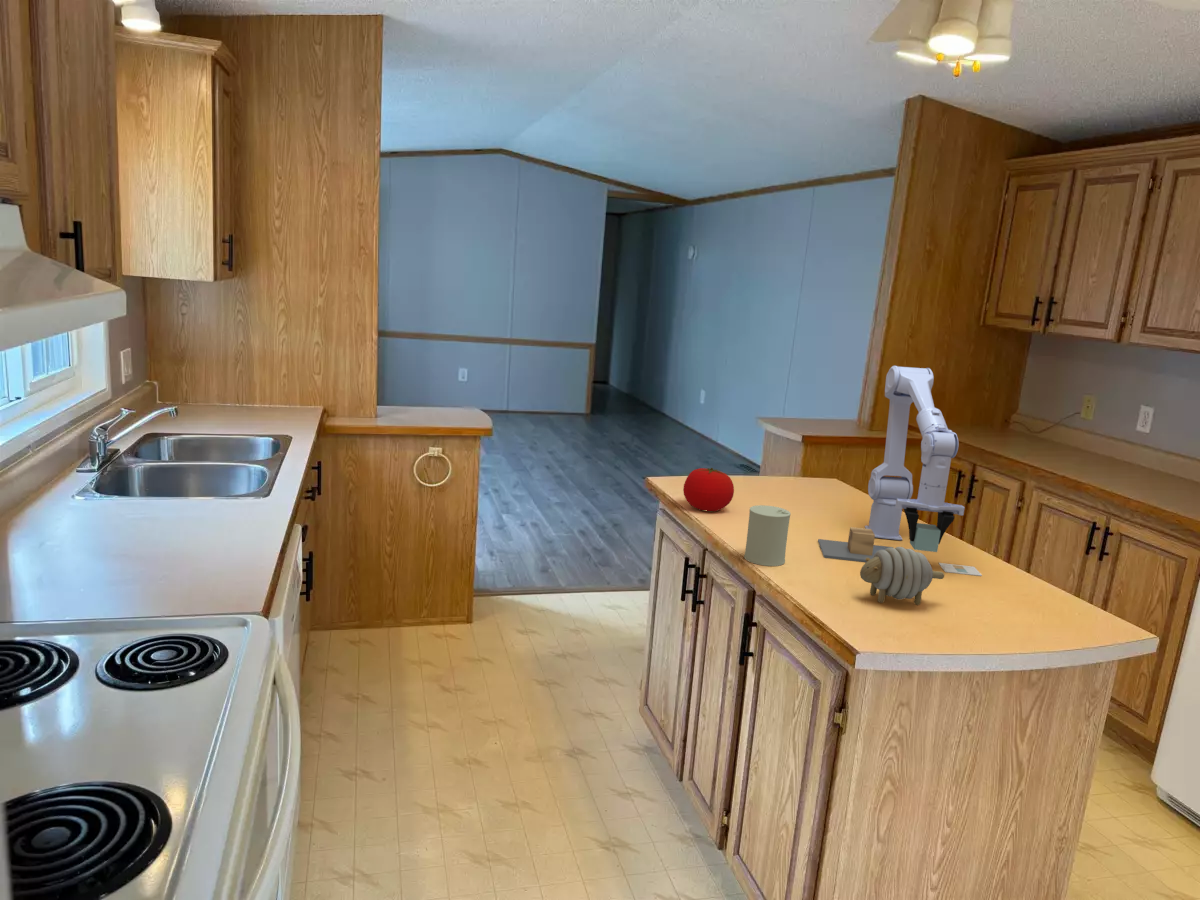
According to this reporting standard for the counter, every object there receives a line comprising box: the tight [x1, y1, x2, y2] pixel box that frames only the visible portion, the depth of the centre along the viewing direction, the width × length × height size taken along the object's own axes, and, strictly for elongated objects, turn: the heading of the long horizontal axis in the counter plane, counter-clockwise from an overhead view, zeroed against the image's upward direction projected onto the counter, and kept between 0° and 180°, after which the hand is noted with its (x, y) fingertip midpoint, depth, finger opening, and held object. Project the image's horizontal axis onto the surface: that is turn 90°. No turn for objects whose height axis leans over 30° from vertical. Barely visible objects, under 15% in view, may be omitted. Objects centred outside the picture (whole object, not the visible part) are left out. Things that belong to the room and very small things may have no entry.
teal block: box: [909, 522, 941, 553], centre depth 191 cm, size 5×5×5 cm
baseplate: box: [817, 538, 894, 563], centre depth 199 cm, size 13×18×1 cm
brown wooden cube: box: [847, 526, 876, 556], centre depth 198 cm, size 5×5×5 cm
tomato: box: [682, 467, 735, 512], centre depth 228 cm, size 13×14×12 cm
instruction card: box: [938, 562, 983, 577], centre depth 192 cm, size 6×8×1 cm
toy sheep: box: [859, 546, 945, 606], centre depth 169 cm, size 11×17×11 cm, turn 96°
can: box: [743, 504, 791, 567], centre depth 188 cm, size 9×9×12 cm
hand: (924, 541), depth 191 cm, fingers closed on teal block, 5 cm apart
